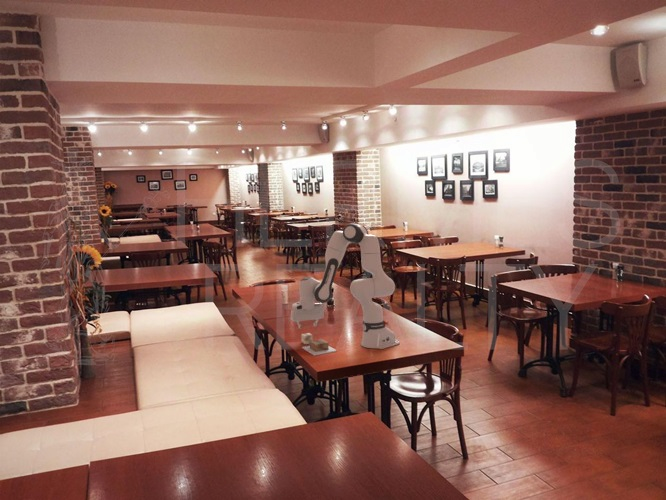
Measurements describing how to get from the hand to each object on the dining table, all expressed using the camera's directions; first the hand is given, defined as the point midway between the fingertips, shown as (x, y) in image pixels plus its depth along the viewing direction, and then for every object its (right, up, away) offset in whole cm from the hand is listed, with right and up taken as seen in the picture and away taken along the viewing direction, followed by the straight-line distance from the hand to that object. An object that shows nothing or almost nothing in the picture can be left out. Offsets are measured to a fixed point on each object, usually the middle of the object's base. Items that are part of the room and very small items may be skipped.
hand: (307, 327), depth 314 cm
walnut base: (+7, -10, -16) cm, 21 cm away
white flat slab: (+7, -10, -16) cm, 21 cm away
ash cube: (0, -9, -2) cm, 9 cm away
